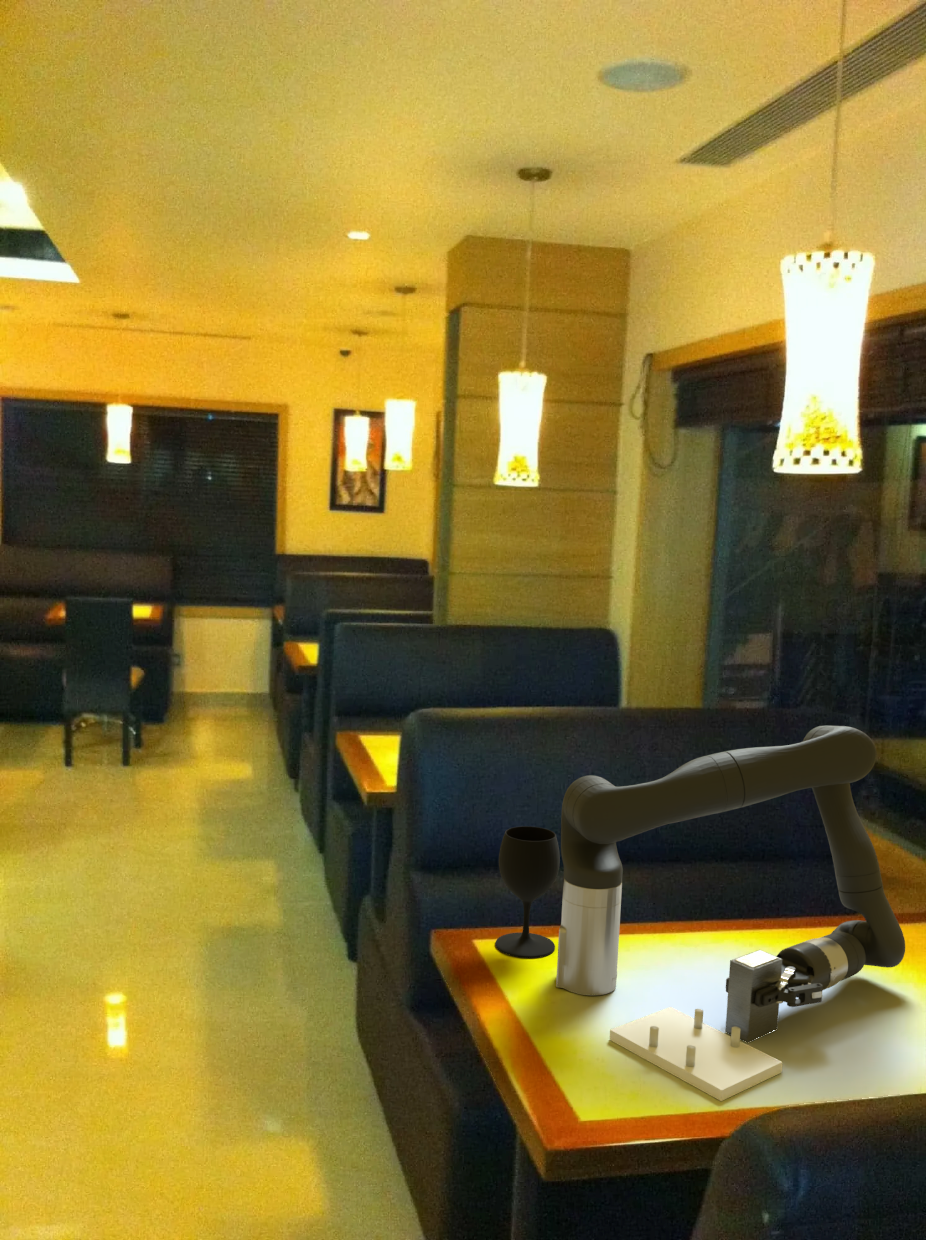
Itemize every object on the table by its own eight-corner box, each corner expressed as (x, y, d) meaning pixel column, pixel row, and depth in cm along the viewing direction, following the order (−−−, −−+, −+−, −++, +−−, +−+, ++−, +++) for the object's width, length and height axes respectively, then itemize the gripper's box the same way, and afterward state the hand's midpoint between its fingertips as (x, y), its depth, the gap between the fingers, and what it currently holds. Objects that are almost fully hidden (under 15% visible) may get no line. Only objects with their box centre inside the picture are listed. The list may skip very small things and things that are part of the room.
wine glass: (511, 962, 187) (516, 845, 184) (485, 938, 196) (490, 827, 194) (566, 954, 191) (572, 839, 189) (538, 931, 200) (543, 822, 198)
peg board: (609, 1039, 161) (610, 1013, 160) (669, 1016, 169) (671, 991, 168) (721, 1101, 145) (723, 1072, 145) (781, 1072, 153) (783, 1044, 153)
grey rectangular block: (725, 1032, 165) (730, 959, 163) (754, 1020, 169) (759, 948, 168) (747, 1043, 161) (752, 969, 160) (777, 1030, 166) (782, 958, 165)
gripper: (774, 928, 179) (705, 952, 168) (854, 959, 167) (786, 986, 157) (771, 973, 179) (702, 999, 169) (850, 1007, 168) (782, 1037, 158)
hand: (743, 993), depth 163 cm, fingers open, 4 cm apart
